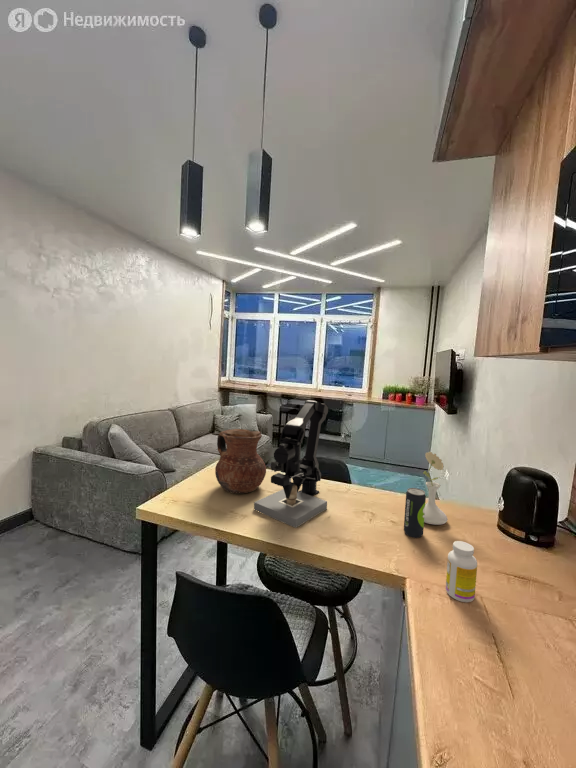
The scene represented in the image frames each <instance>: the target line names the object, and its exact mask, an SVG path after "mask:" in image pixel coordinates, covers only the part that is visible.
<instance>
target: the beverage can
mask: <svg viewBox="0 0 576 768" xmlns="http://www.w3.org/2000/svg"><path fill="white" fill-rule="evenodd" d="M426 500H427V496H426V491H425V490H423V489H421V488H417V487H409V488H407V490H406V492H405V504H404V505H405V507H404V521H403V531H404V534H406V535H407V536H408V537H410V538H413V539H415V538H416V539H419V538H421V537H422V536H423V535H424V527H425V522H424V516H425V504H426Z"/></svg>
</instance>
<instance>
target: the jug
mask: <svg viewBox="0 0 576 768" xmlns="http://www.w3.org/2000/svg"><path fill="white" fill-rule="evenodd" d="M262 437H263V435H262V431H260V430H258V431H257V430H255V431H252V430H249V429H247V428H246V429H245V428H244V429H243V428H234V429H226V430H222V431H220V432H219V433H218V436H217V439H216V440H217V442H216V443H217V444H216V446H217V451H218V454H219V456H220V457H219V460H218V462H216V465H215V468H214V469H215V471H214V473H215V478H216V481H217V482H218V484H219V485H220V486H221V488H222V489H224V490H225V491H226V492H229V493H230V492H232V493H231V494H249V493H252V492H254V491H255V490H257V489H259V487H260V486H261V485H262V483H263V481H264V479H265V477H266V475H267V466H266V464H265V462H264V459H263V458H262V457H261V456H260V455H259V454H258V452H257V449H258V443H259V442H260V440H261V439H262ZM248 492H249V493H248Z"/></svg>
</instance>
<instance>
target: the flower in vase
mask: <svg viewBox="0 0 576 768" xmlns="http://www.w3.org/2000/svg"><path fill="white" fill-rule="evenodd" d="M424 455H425V459H426V461H427V462H428V463H429V465H430V466H429V469H428V472H427V471H426V470H424V471H423V472H422V474H423V475H425V476H426V477H427V478H429V480H430V481H426V482H425V485H426V487H427V491H428V500H427V503H426V502H425V516H424V524H425V523H426V524H429V525H436V526H437V525H444V524H446V523H447V522H448V516H447V514H446V513H445V512H444V511H443V510H442V509H440V508H441V507H438V505H437V504H436V495H437V491H438V490H439V488H440V487H441V484H440V483H438V482H434V481H435V480H438V479H439V477H437V476H436V477H433V478H432V479H431V475H430V472H431V471H430V470H431V468H432V467H433V468H434V469H436V470H437V471H443V470H444V463H443V462H442V461H443V460H442V458H440V457H439V456H437V454H436V453H433V452H432V451H428V452H427V451H426V452H425V454H424Z"/></svg>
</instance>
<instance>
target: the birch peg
mask: <svg viewBox="0 0 576 768" xmlns="http://www.w3.org/2000/svg"><path fill="white" fill-rule="evenodd" d="M286 499H287V504H289V505H291V506H293V505H295V504H296V499H297V485H294V484H293V487H292V491H291V494H290V497H289V498H286Z"/></svg>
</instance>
